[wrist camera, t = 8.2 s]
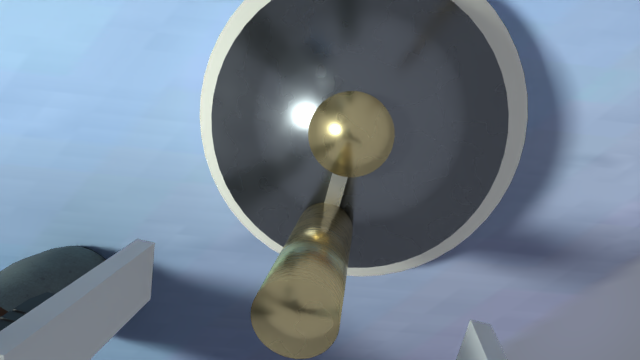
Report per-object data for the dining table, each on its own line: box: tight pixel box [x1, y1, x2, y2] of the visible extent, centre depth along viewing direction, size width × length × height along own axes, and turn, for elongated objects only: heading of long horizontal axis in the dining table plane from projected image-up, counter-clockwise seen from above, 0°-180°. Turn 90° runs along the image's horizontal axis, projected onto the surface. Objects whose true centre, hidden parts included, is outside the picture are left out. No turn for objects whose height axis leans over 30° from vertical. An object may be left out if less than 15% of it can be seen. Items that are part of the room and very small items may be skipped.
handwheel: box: [211, 0, 509, 359], centre depth 19 cm, size 18×18×12 cm
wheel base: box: [200, 0, 528, 276], centre depth 26 cm, size 22×22×4 cm
